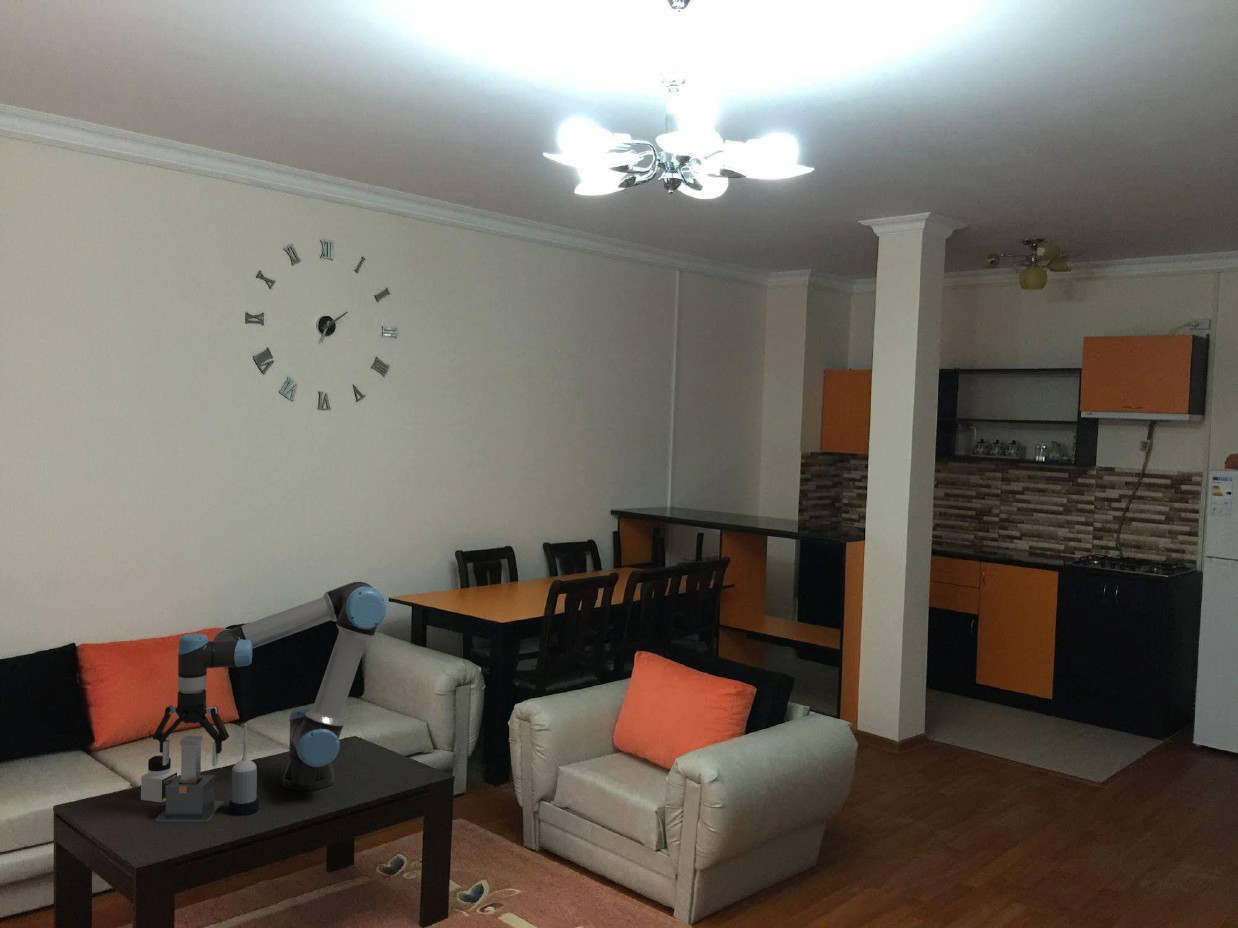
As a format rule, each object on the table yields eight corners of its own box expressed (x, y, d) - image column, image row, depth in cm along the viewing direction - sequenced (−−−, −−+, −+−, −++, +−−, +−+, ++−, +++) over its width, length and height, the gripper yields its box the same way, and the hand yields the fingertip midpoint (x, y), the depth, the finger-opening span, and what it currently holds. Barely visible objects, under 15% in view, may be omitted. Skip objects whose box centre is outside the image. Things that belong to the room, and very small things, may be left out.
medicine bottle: (162, 802, 298) (162, 761, 297) (140, 800, 299) (140, 759, 299) (177, 794, 305) (178, 754, 304) (156, 791, 306) (156, 752, 306)
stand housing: (223, 803, 299) (224, 771, 298) (207, 822, 285) (207, 788, 284) (174, 803, 298) (174, 771, 297) (155, 821, 284) (155, 788, 283)
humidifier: (260, 804, 299) (262, 719, 298) (256, 815, 291) (258, 727, 290) (231, 805, 297) (232, 720, 296) (226, 816, 289) (227, 728, 288)
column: (201, 809, 294) (202, 735, 293) (195, 815, 289) (196, 740, 288) (184, 808, 293) (185, 735, 292) (179, 815, 289) (180, 740, 288)
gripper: (241, 687, 294) (239, 760, 295) (151, 685, 293) (150, 759, 294) (233, 694, 287) (231, 769, 288) (141, 692, 285) (139, 767, 286)
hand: (190, 764), depth 291 cm, fingers open, 13 cm apart
